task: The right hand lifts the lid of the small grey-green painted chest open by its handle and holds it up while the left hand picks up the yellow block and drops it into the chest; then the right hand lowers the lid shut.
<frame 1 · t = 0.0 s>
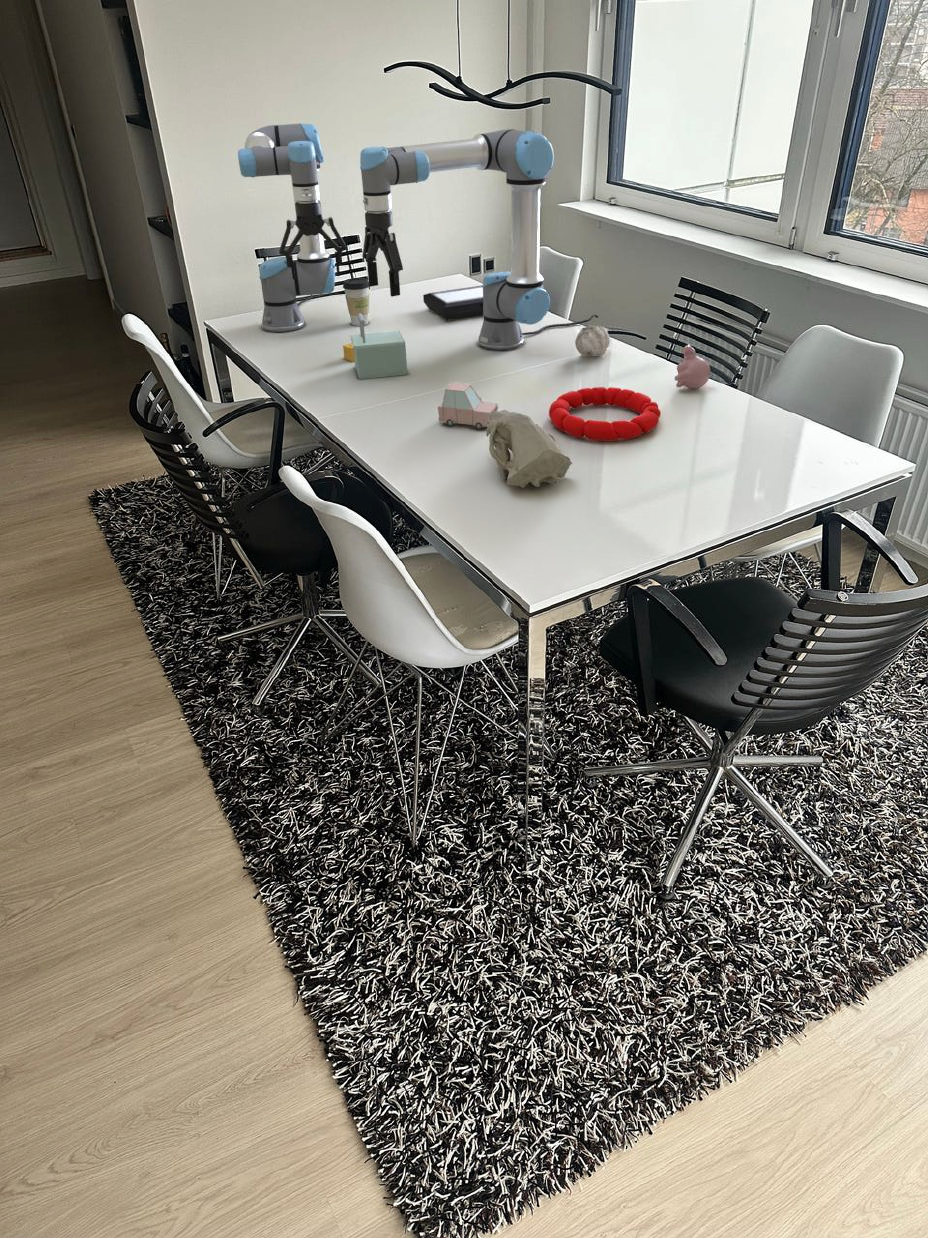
left hand: (316, 276, 273), 28 cm above the table, tool pointing down, fingers open, 13 cm apart
right hand: (384, 290, 257), 28 cm above the table, tool pointing down, fingers open, 13 cm apart
toy car: (468, 423, 246), on the table
coffee cup: (360, 323, 327), on the table
decorative ring: (603, 422, 244), on the table
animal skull: (520, 470, 220), on the table
seashell: (593, 356, 289), on the table
electronic device: (472, 310, 337), on the table
block: (353, 358, 294), on the table
figurine: (690, 388, 263), on the table
lid: (376, 328, 276), point 13 cm above the table, hinge at -0.1°
chest: (381, 370, 284), on the table
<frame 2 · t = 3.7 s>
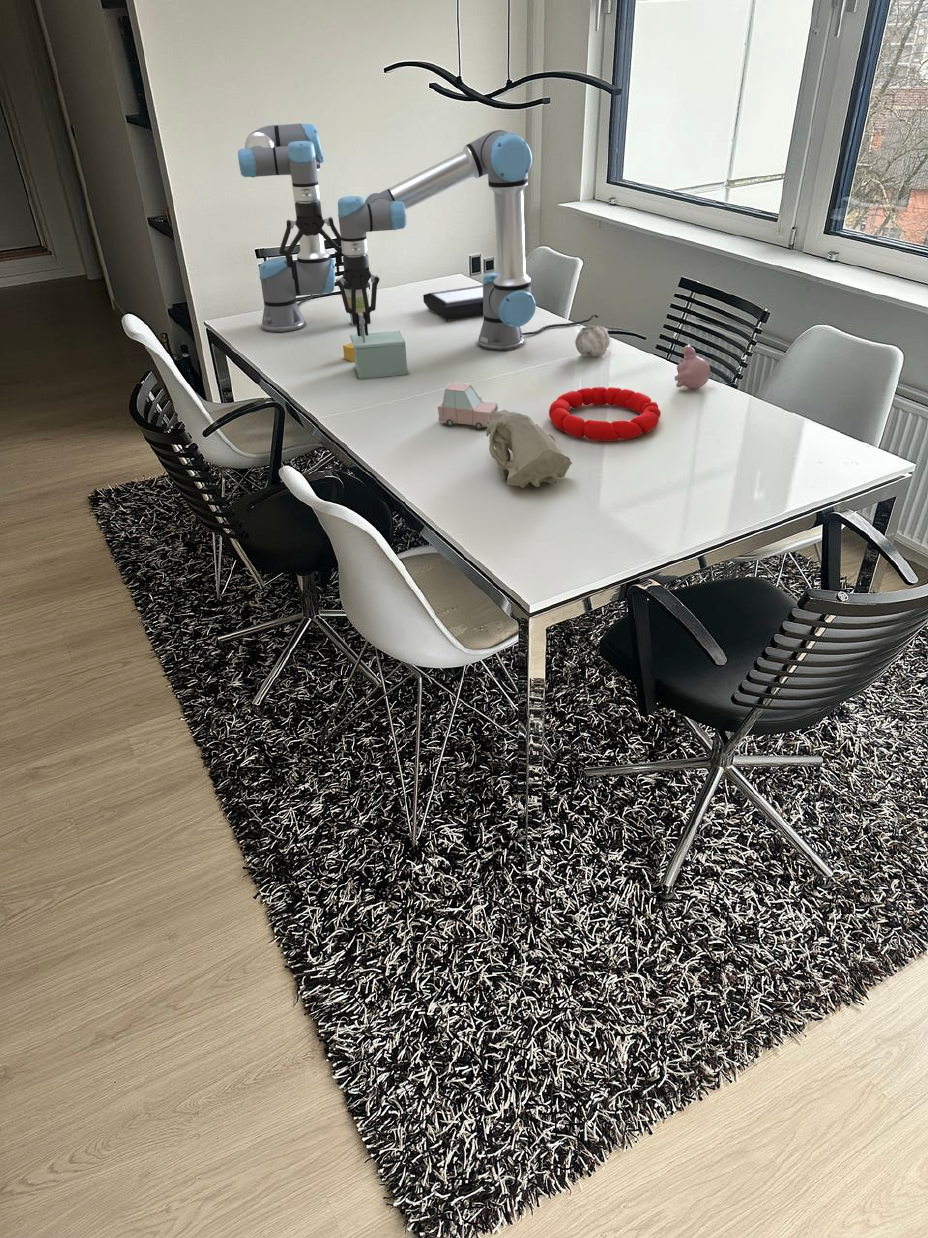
left hand: (316, 276, 273), 28 cm above the table, tool pointing down, fingers open, 13 cm apart
right hand: (362, 334, 276), 12 cm above the table, tool pointing down, fingers closed on lid, 2 cm apart
lid: (376, 328, 276), point 14 cm above the table, hinge at 0.5°, touching right hand
everything else where it was.
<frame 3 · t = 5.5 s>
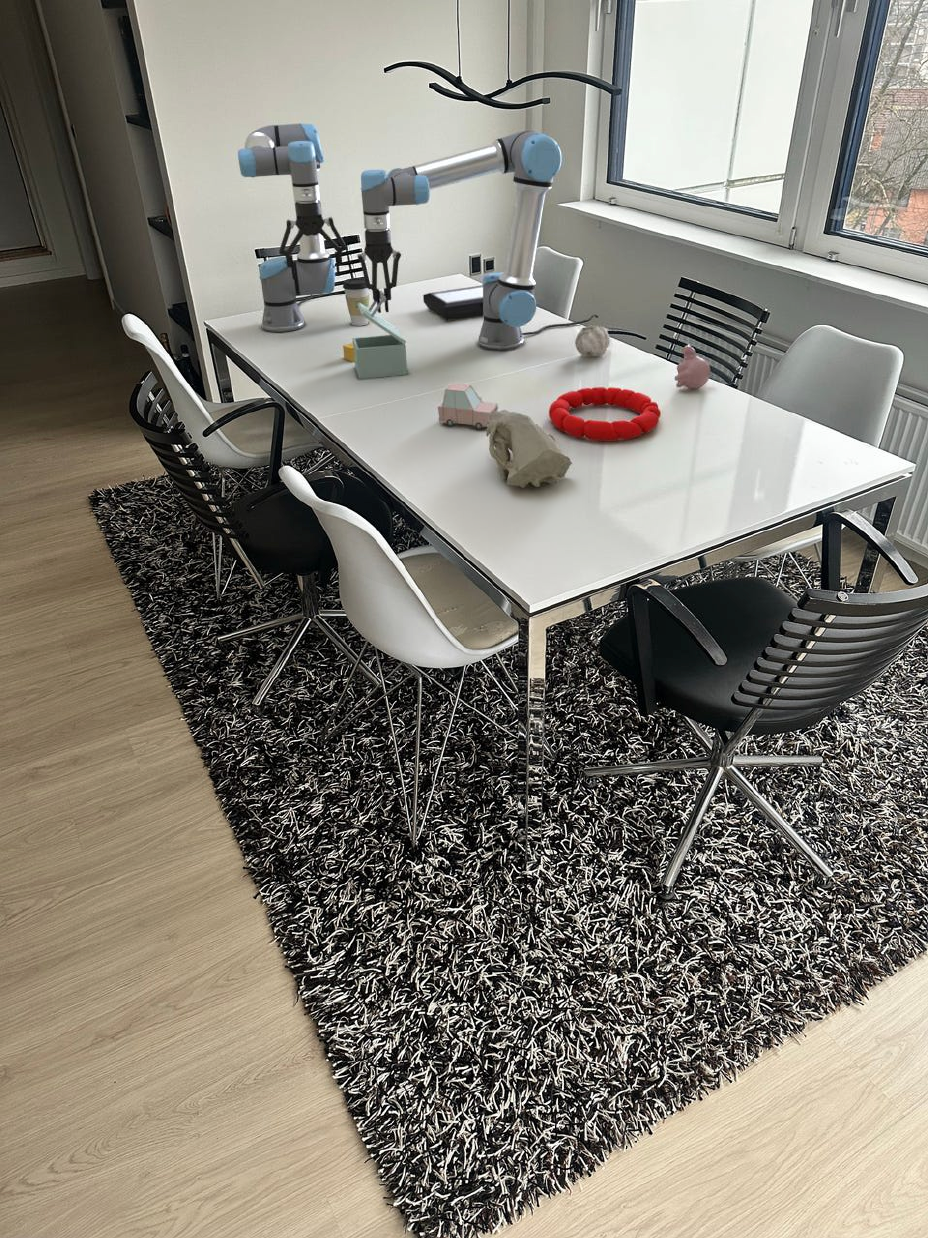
left hand: (316, 276, 273), 28 cm above the table, tool pointing down, fingers open, 13 cm apart
right hand: (383, 311, 273), 19 cm above the table, tool pointing down, fingers closed on lid, 2 cm apart
lid: (388, 313, 274), point 18 cm above the table, hinge at 38.8°, touching right hand
everything else where it was.
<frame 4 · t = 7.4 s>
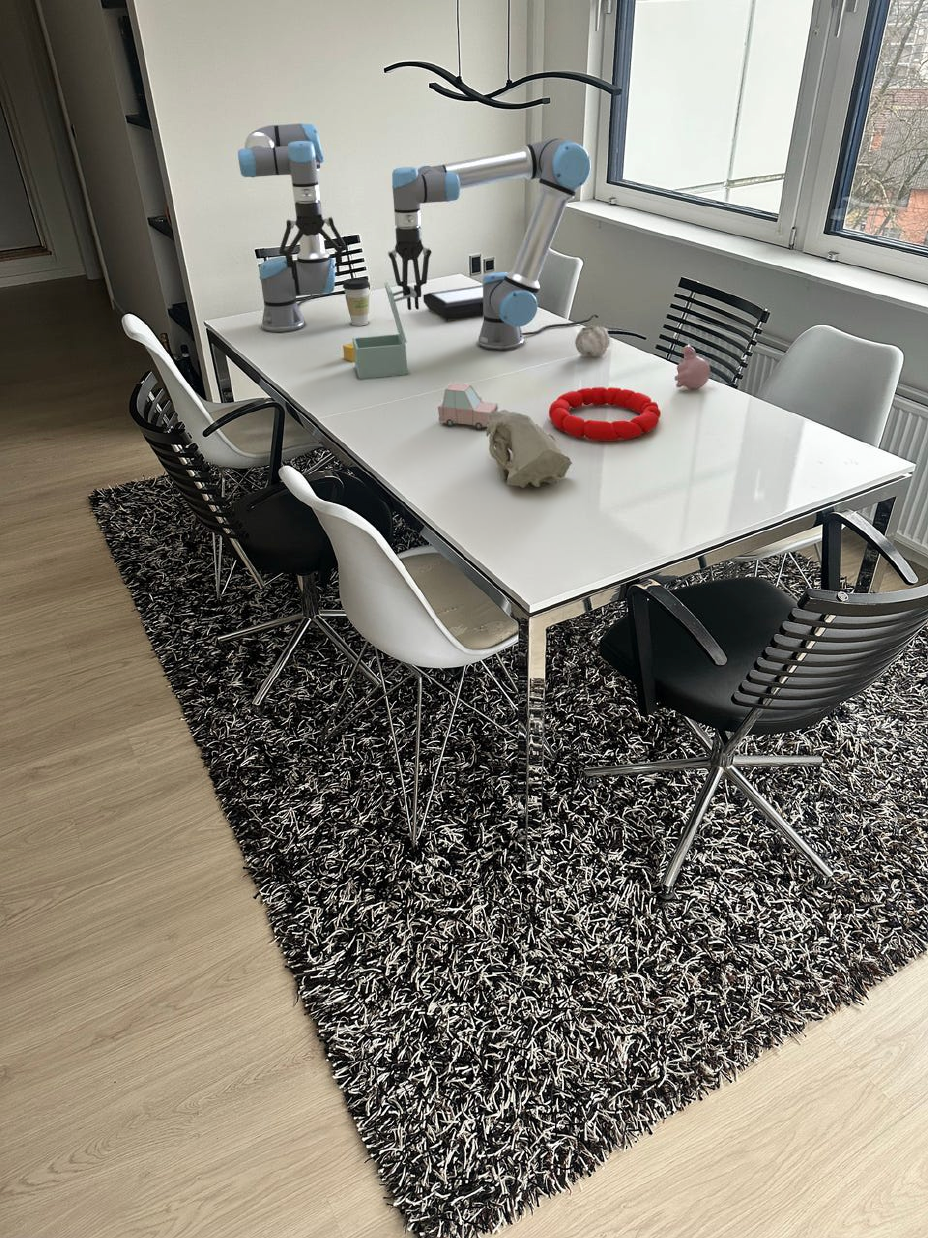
left hand: (316, 276, 273), 28 cm above the table, tool pointing down, fingers open, 13 cm apart
right hand: (413, 308, 275), 19 cm above the table, tool pointing down, fingers closed on lid, 2 cm apart
lid: (406, 309, 275), point 18 cm above the table, hinge at 77.5°, touching right hand
everything else where it was.
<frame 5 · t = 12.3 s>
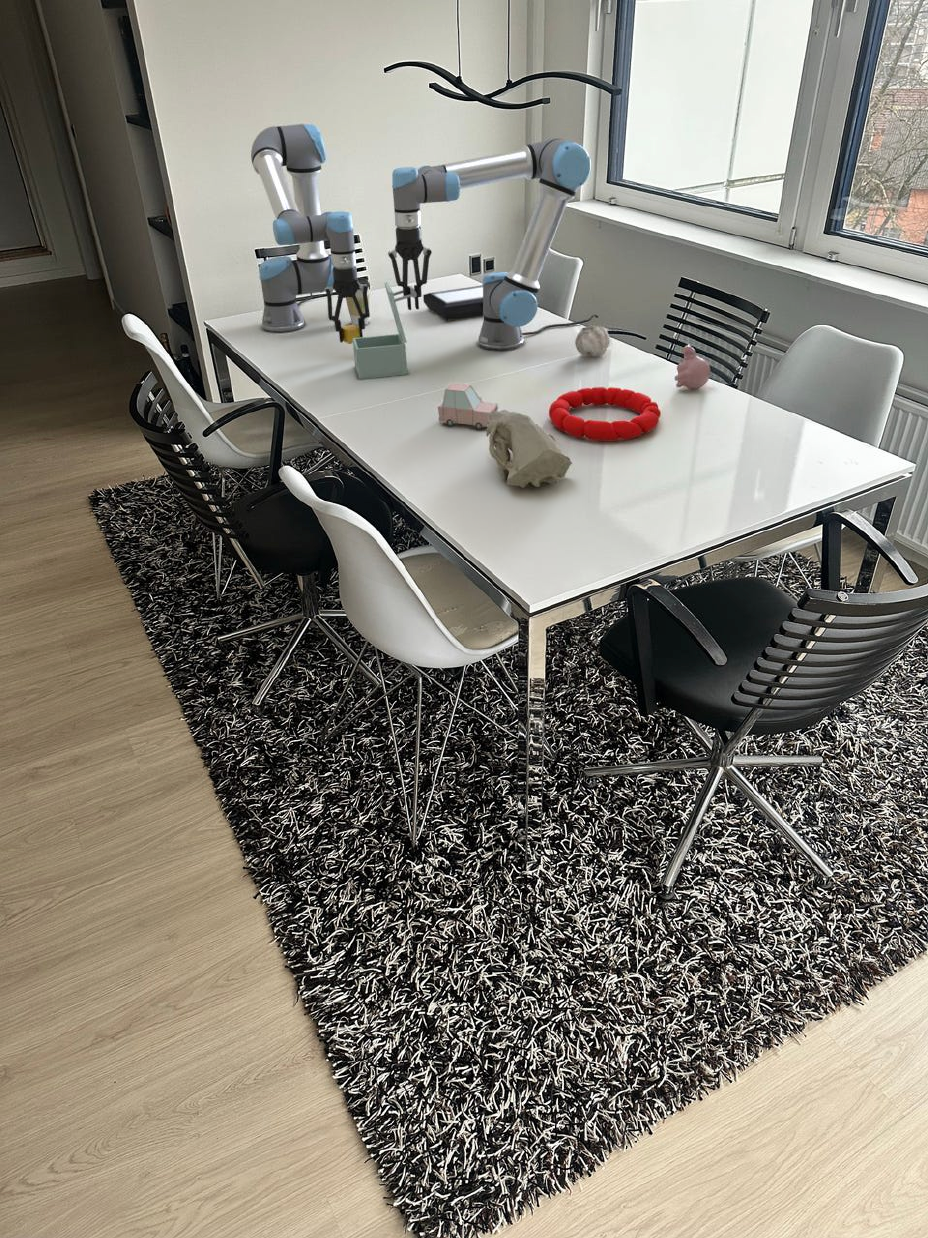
left hand: (351, 339, 291), 6 cm above the table, tool pointing down, fingers closed on block, 6 cm apart
right hand: (413, 308, 275), 19 cm above the table, tool pointing down, fingers closed on lid, 2 cm apart
block: (351, 340, 292), point 6 cm above the table, touching left hand
lid: (406, 309, 275), point 18 cm above the table, hinge at 78.0°, touching right hand
everything else where it was.
when the left hand's fingers open (15 cm above the table, at t = 15.0 s): block drops 14 cm, resting on chest.
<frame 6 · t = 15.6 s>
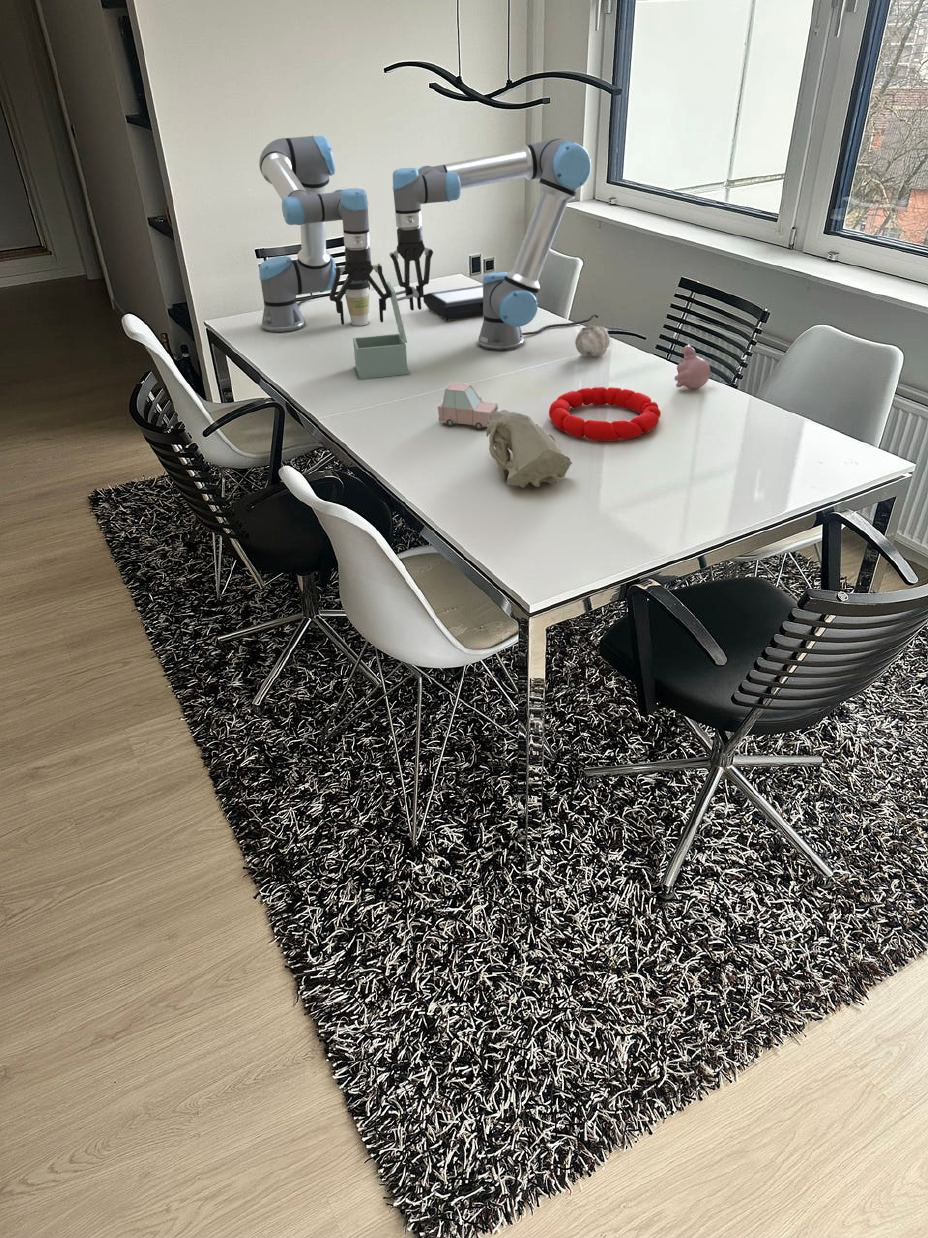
left hand: (362, 322, 274), 16 cm above the table, tool pointing down, fingers open, 11 cm apart
right hand: (415, 308, 275), 18 cm above the table, tool pointing down, fingers closed on lid, 2 cm apart
block: (370, 369, 283), point 1 cm above the table, touching chest
lid: (407, 309, 275), point 18 cm above the table, hinge at 80.4°, touching left hand, right hand
chest: (381, 370, 284), on the table, touching block
everything else where it was.
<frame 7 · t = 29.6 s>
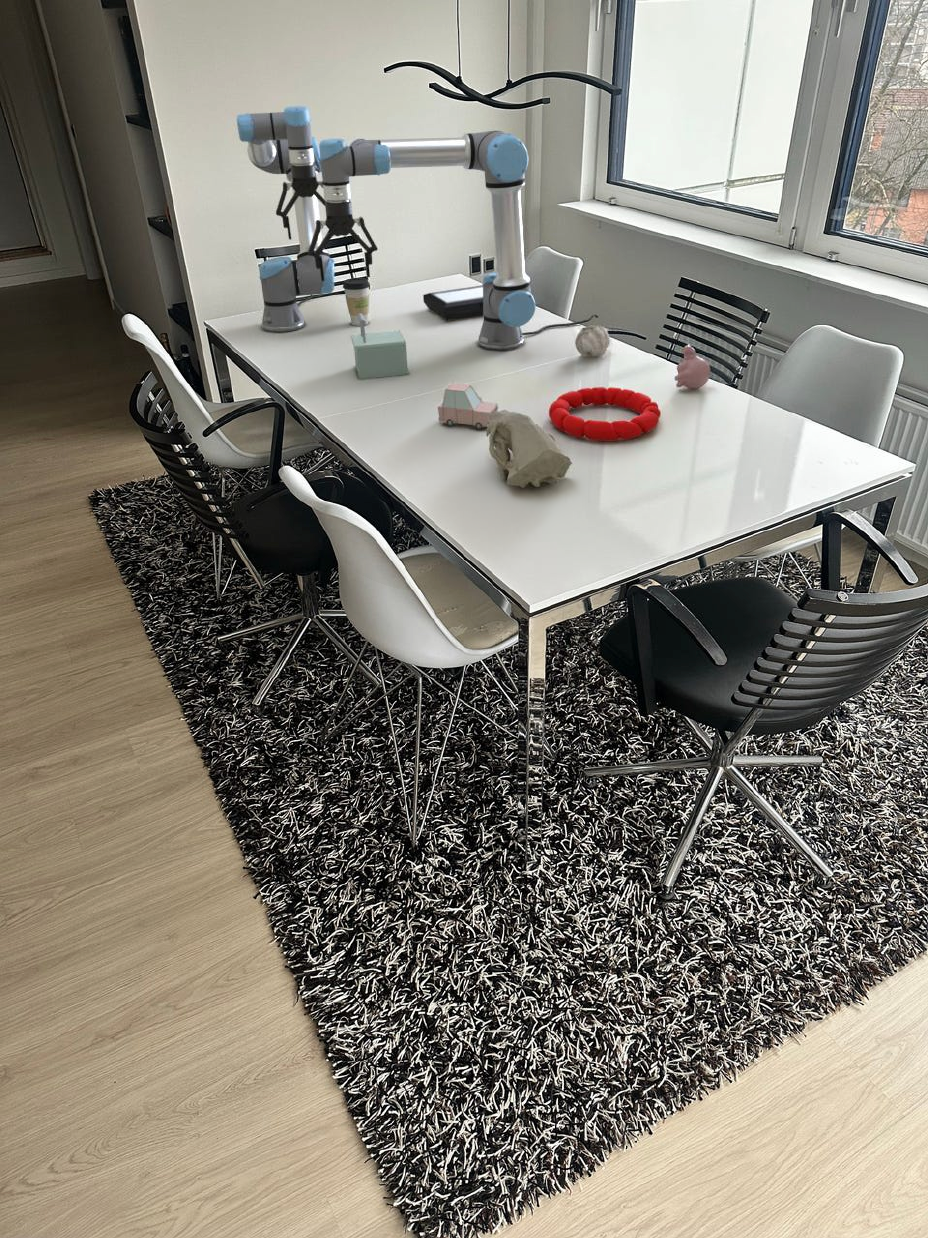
left hand: (311, 237, 288), 35 cm above the table, tool pointing down, fingers open, 13 cm apart
right hand: (345, 277, 266), 29 cm above the table, tool pointing down, fingers open, 13 cm apart
lid: (377, 328, 276), point 13 cm above the table, hinge at -0.1°
everything else where it was.
at the end: block inside the target area in the chest (3.4 cm from its centre), point 0.7 cm above the chest's base; lid at +0° (first picture: +0°); the left hand is holding nothing; the right hand is holding nothing; chest tilted 0°; chest moved 0.2 cm from its start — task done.
